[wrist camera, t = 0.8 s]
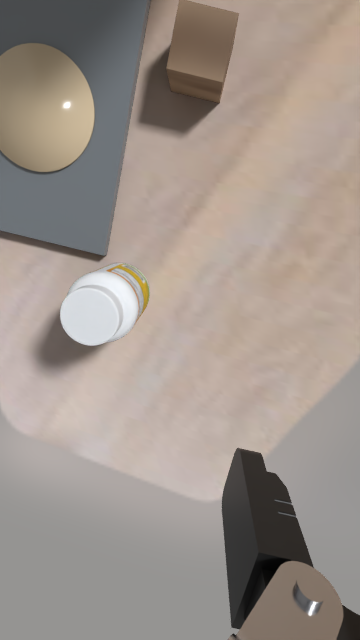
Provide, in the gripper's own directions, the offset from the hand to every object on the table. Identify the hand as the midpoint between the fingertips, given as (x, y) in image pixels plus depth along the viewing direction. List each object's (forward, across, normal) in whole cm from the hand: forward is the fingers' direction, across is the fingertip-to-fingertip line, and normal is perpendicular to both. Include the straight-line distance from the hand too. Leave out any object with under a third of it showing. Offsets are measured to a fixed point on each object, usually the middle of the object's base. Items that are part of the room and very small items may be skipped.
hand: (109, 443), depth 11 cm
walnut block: (+21, +1, -19) cm, 29 cm away
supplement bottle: (+21, +4, 0) cm, 22 cm away
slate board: (+21, +13, -13) cm, 28 cm away
